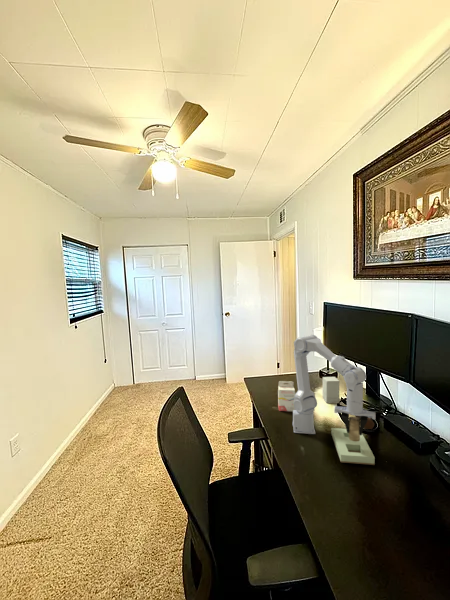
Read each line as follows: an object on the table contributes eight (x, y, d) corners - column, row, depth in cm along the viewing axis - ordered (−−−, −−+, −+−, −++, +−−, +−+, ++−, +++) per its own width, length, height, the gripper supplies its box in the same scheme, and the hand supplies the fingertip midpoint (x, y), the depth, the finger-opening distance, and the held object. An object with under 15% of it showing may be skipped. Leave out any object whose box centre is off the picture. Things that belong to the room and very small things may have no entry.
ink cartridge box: (278, 411, 157) (278, 384, 156) (278, 407, 162) (277, 380, 161) (295, 411, 156) (295, 384, 155) (294, 407, 161) (293, 381, 160)
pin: (348, 440, 116) (348, 420, 115) (349, 435, 119) (349, 415, 119) (359, 442, 114) (359, 422, 114) (360, 437, 118) (360, 417, 117)
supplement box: (339, 403, 165) (339, 381, 163) (326, 403, 165) (326, 381, 164) (335, 397, 172) (335, 376, 171) (322, 397, 172) (322, 376, 171)
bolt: (357, 418, 151) (370, 432, 136) (348, 413, 151) (360, 427, 136) (363, 408, 151) (376, 421, 136) (354, 403, 151) (366, 416, 136)
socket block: (340, 462, 113) (340, 454, 113) (331, 434, 133) (331, 428, 133) (374, 464, 111) (374, 457, 111) (359, 436, 131) (360, 429, 131)
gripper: (375, 398, 116) (375, 431, 117) (336, 392, 122) (335, 424, 123) (375, 405, 109) (375, 440, 110) (333, 399, 116) (333, 432, 117)
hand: (354, 432), depth 116 cm, fingers closed on pin, 4 cm apart
